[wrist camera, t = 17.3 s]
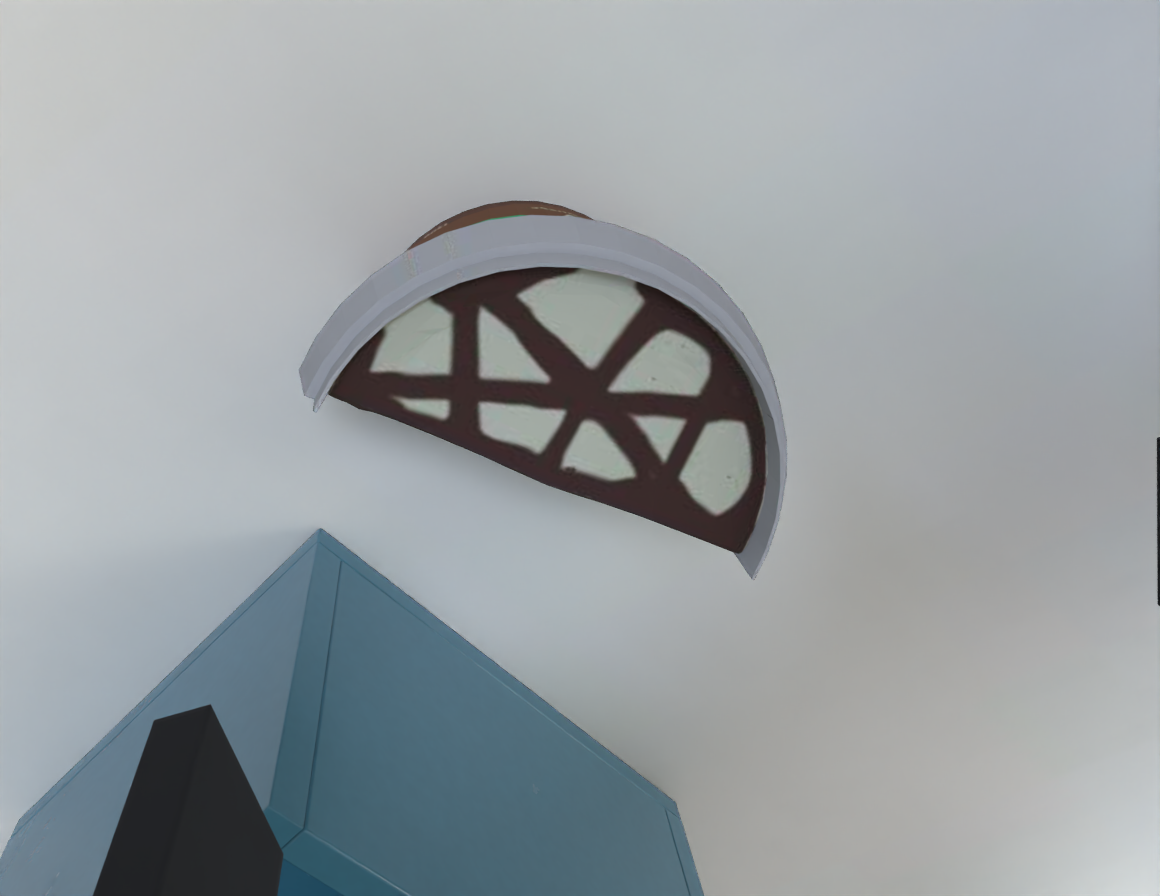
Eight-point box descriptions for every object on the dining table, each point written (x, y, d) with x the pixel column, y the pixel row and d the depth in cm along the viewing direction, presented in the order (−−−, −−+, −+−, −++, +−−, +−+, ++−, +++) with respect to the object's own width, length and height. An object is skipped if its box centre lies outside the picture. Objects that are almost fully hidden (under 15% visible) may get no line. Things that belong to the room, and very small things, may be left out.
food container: (776, 263, 34) (906, 371, 25) (683, 429, 36) (772, 587, 27) (407, 82, 30) (400, 132, 21) (326, 279, 32) (289, 402, 23)
